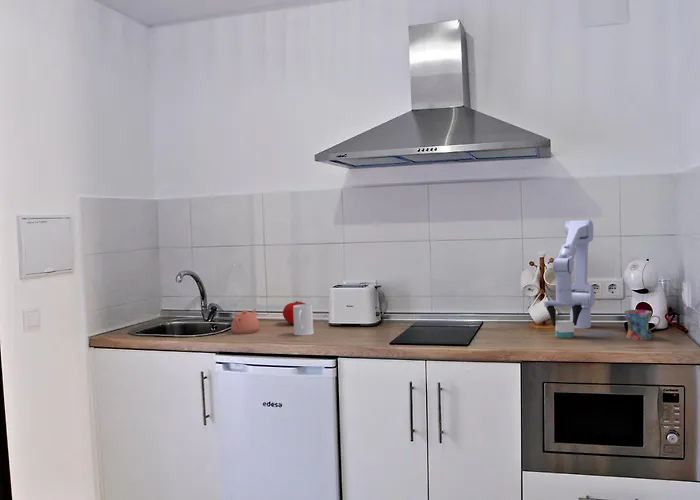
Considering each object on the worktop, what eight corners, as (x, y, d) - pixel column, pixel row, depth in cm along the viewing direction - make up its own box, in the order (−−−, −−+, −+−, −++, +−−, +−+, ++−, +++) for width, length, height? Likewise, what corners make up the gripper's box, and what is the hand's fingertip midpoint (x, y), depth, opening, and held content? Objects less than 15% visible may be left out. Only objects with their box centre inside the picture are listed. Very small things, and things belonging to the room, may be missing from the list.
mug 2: (624, 342, 237) (623, 313, 237) (624, 337, 246) (624, 309, 245) (660, 343, 232) (660, 314, 232) (660, 339, 241) (660, 310, 240)
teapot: (223, 335, 282) (222, 313, 281) (244, 327, 299) (243, 307, 298) (248, 335, 278) (247, 313, 277) (268, 328, 294) (267, 307, 294)
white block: (555, 330, 250) (555, 321, 249) (569, 329, 249) (569, 320, 249) (559, 332, 244) (559, 323, 244) (574, 332, 244) (574, 323, 244)
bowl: (554, 337, 250) (553, 329, 250) (570, 337, 250) (570, 329, 250) (558, 340, 244) (558, 332, 244) (575, 340, 244) (575, 332, 244)
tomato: (309, 325, 298) (308, 302, 297) (282, 326, 297) (281, 303, 297) (310, 321, 311) (309, 298, 310) (284, 322, 311) (283, 299, 310)
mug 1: (308, 337, 269) (306, 308, 269) (288, 337, 271) (287, 308, 271) (316, 332, 281) (315, 304, 280) (297, 331, 283) (296, 304, 282)
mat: (577, 334, 255) (577, 331, 255) (608, 333, 254) (608, 331, 254) (586, 340, 243) (586, 337, 243) (619, 339, 242) (619, 336, 242)
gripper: (546, 291, 243) (547, 327, 243) (586, 290, 242) (587, 326, 243) (542, 289, 250) (542, 324, 250) (580, 287, 249) (581, 323, 250)
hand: (564, 325), depth 247 cm, fingers open, 7 cm apart
